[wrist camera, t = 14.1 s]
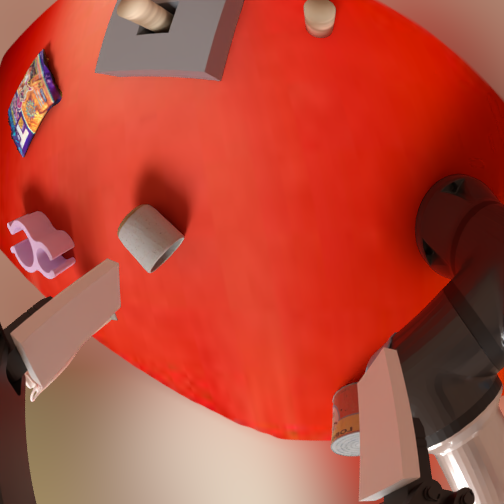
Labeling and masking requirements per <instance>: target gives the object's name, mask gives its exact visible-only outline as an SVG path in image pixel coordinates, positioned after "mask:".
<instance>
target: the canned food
mask: <svg viewBox="0 0 504 504" xmlns="http://www.w3.org/2000/svg"><path fill="white" fill-rule="evenodd" d="M357 383H358V382H356V383H352V384H349V385H346V386H344V387H342V388H341V389H339V390H338V391H337V392H336V393H335V395H334V396H333V424H332V444H331V449H332V451H333V452H335V453H336V454H339V455H343V456H360V425H359V403H358V388H357Z"/></svg>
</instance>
